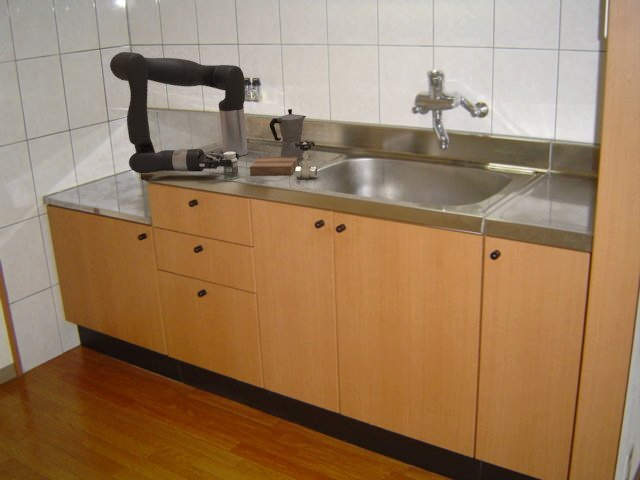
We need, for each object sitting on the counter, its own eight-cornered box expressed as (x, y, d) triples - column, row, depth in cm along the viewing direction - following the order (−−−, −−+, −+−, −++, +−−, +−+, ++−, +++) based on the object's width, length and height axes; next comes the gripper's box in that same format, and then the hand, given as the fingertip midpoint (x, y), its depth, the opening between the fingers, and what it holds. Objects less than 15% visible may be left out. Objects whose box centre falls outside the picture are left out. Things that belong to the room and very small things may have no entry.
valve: (314, 181, 237) (312, 144, 233) (294, 181, 238) (292, 144, 234) (318, 176, 243) (316, 140, 239) (299, 176, 244) (297, 140, 240)
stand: (260, 165, 260) (259, 157, 259) (298, 165, 258) (298, 156, 257) (250, 175, 247) (249, 167, 246) (291, 175, 245) (290, 166, 244)
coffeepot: (300, 153, 276) (298, 105, 270) (315, 157, 268) (312, 108, 262) (265, 160, 268) (262, 111, 262) (279, 164, 260) (275, 114, 254)
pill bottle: (221, 178, 246) (219, 153, 243) (232, 175, 250) (229, 150, 247) (231, 179, 243) (229, 155, 240) (241, 176, 247) (239, 152, 244)
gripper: (180, 154, 239) (228, 153, 236) (194, 144, 252) (239, 144, 249) (182, 176, 241) (230, 176, 239) (196, 166, 255) (241, 165, 252)
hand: (235, 159), depth 244 cm, fingers open, 8 cm apart
